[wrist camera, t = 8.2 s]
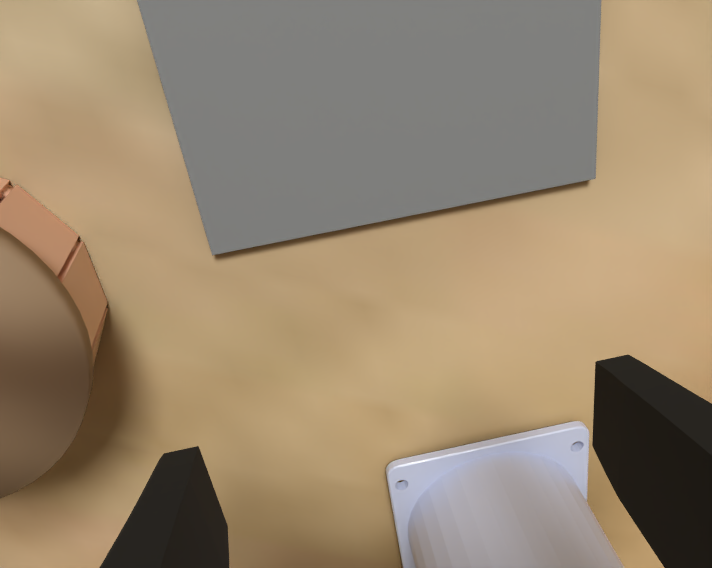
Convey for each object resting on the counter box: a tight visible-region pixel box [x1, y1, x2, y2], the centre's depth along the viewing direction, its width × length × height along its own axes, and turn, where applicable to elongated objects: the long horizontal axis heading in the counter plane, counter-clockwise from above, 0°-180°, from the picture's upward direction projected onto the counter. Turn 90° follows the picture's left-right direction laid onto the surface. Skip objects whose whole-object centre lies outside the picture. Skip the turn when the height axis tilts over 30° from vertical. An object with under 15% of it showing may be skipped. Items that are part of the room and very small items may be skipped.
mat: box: [137, 0, 601, 255], centre depth 17 cm, size 12×12×1 cm
